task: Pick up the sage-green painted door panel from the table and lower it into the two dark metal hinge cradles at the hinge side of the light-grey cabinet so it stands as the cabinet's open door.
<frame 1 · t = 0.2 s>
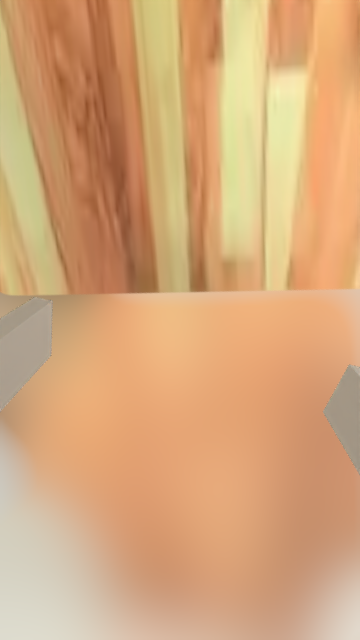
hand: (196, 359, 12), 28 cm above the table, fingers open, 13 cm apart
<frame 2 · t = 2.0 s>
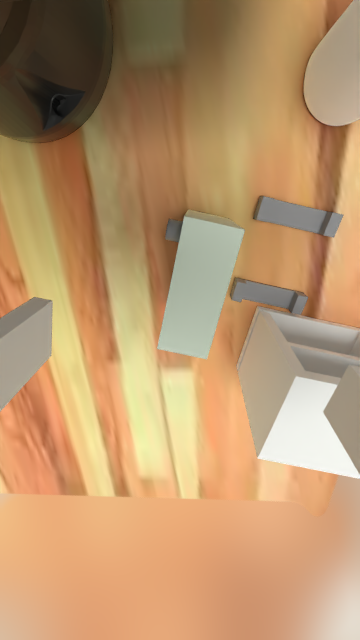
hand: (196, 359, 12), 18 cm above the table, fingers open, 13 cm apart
cabinet: (296, 348, 32), on the table
door: (196, 264, 29), on the table
can: (341, 80, 22), on the table
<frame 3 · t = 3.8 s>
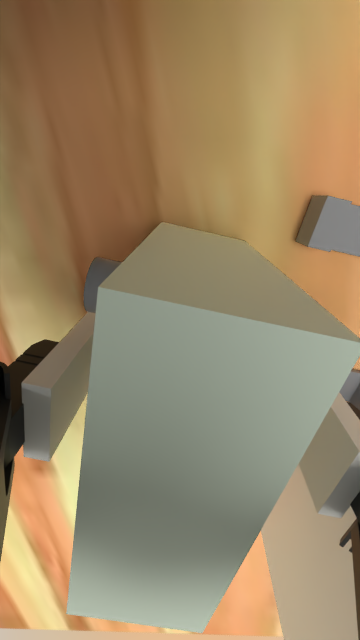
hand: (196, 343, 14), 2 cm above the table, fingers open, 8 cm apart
cabinet: (354, 457, 19), on the table
door: (181, 324, 15), on the table
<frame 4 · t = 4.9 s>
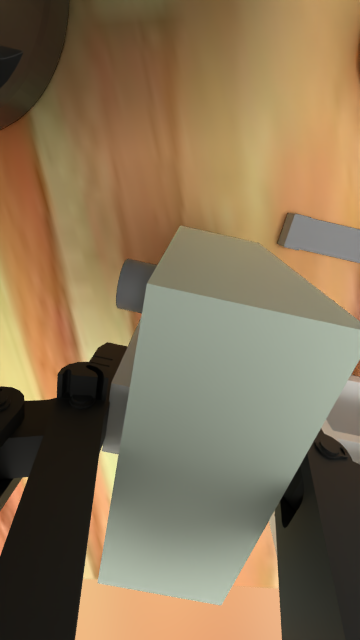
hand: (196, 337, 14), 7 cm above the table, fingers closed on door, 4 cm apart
cabinet: (330, 413, 24), on the table
door: (196, 323, 16), point 5 cm above the table, touching gripper
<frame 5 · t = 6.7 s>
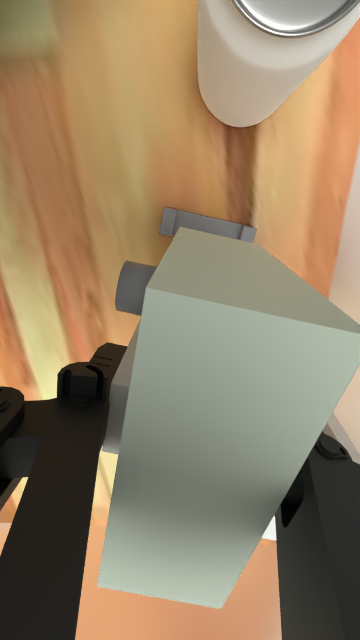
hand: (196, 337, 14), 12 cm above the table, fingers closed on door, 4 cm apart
cabinet: (226, 372, 29), on the table
door: (196, 324, 16), point 10 cm above the table, touching gripper
can: (244, 74, 19), on the table
when the fingers open (2 cm above the table, at t = 8.9 s): door stays where it is, resting on cabinet.
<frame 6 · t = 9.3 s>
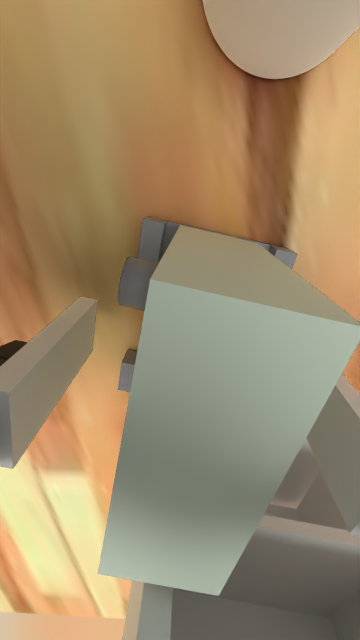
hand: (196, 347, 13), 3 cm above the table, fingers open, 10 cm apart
cabinet: (239, 450, 20), on the table
door: (195, 321, 16), resting on cabinet
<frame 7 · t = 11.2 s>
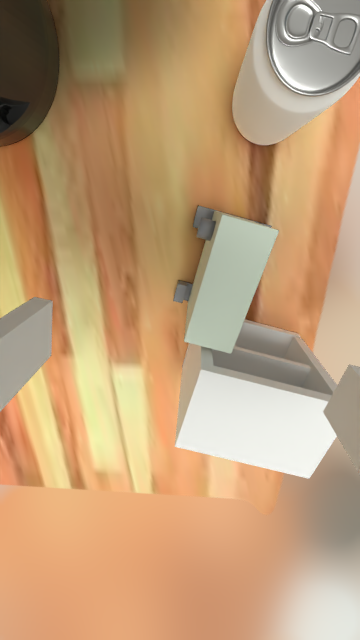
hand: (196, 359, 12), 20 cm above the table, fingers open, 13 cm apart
cabinet: (238, 349, 34), on the table
door: (218, 263, 30), resting on cabinet
can: (267, 104, 25), on the table
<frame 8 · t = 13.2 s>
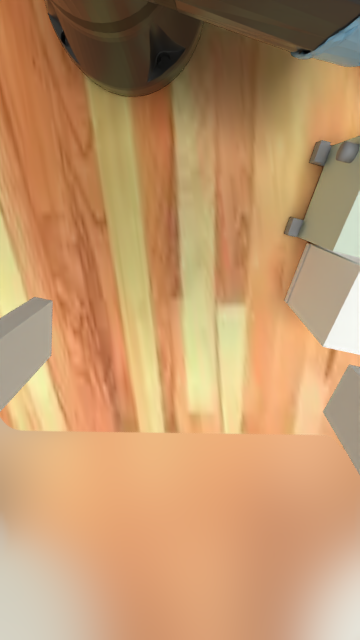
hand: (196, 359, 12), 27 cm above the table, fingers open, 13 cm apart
cabinet: (338, 282, 37), on the table
door: (329, 198, 33), resting on cabinet
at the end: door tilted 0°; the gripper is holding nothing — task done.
